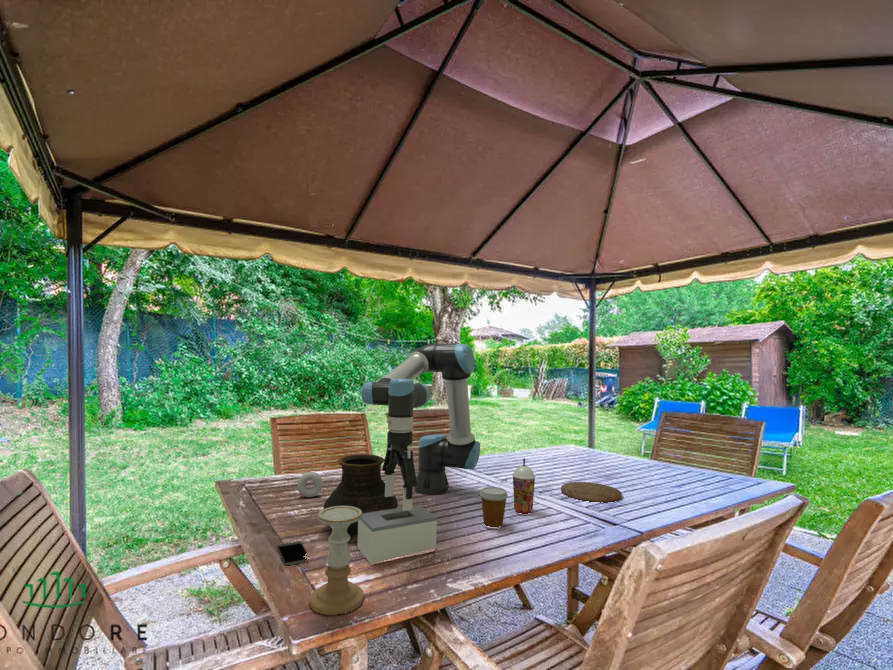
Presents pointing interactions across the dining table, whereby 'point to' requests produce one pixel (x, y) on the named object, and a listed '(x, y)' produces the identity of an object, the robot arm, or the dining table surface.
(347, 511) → the candle holder
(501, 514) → the disposable coffee cup
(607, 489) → the trivet
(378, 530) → the box
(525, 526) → the dining table surface
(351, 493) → the ceramic pot
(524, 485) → the smoothie
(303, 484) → the donut
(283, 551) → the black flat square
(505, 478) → the dining table surface
